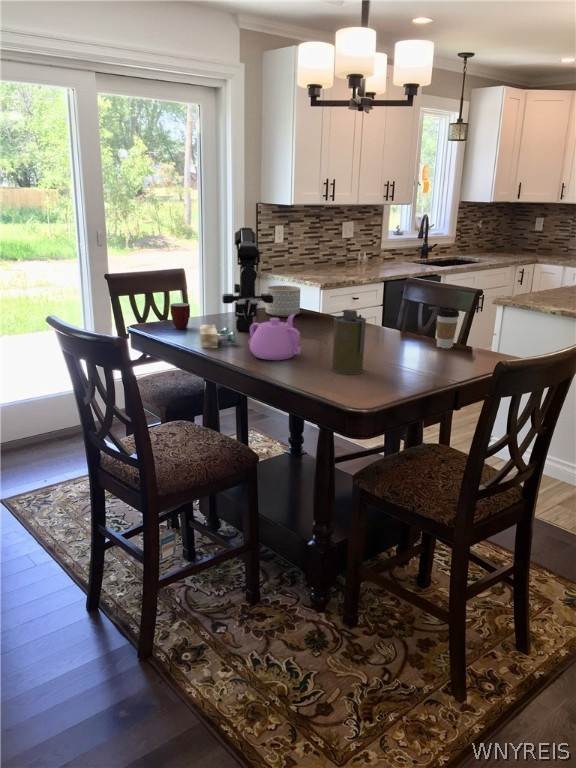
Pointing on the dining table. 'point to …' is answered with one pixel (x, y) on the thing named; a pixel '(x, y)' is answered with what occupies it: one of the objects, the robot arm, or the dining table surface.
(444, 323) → the coffee cup
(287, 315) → the planter
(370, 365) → the dining table surface
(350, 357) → the canister
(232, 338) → the knob
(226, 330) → the knob
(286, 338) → the teapot
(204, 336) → the mount
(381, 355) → the dining table surface
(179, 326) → the mug
